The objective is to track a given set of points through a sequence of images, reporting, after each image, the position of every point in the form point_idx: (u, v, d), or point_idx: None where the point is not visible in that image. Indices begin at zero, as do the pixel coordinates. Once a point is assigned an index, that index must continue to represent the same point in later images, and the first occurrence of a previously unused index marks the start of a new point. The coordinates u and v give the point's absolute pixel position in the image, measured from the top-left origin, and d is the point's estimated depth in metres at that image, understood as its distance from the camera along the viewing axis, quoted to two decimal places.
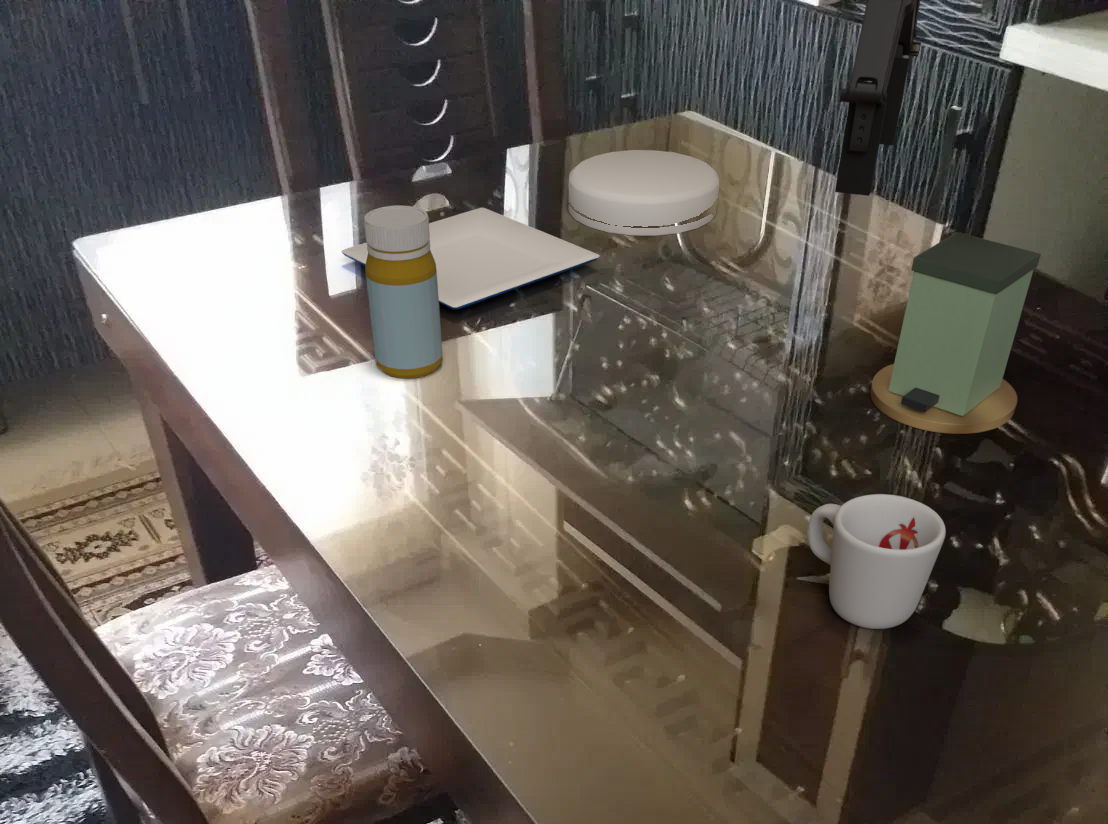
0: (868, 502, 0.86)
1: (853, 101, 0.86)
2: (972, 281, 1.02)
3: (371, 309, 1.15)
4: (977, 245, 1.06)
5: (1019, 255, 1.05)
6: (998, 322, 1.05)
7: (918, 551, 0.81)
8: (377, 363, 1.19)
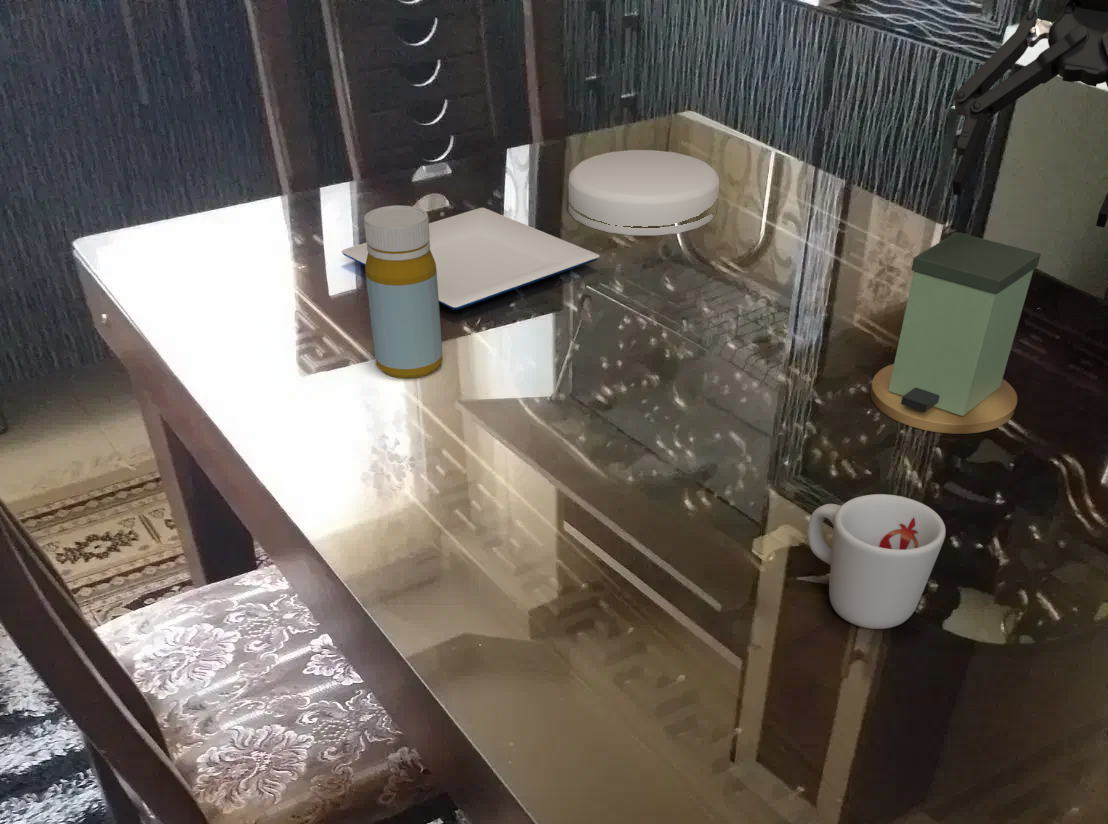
0: (868, 502, 0.86)
1: None
2: (972, 281, 1.02)
3: (371, 309, 1.15)
4: (977, 245, 1.06)
5: (1019, 255, 1.05)
6: (998, 322, 1.05)
7: (918, 552, 0.81)
8: (377, 363, 1.19)
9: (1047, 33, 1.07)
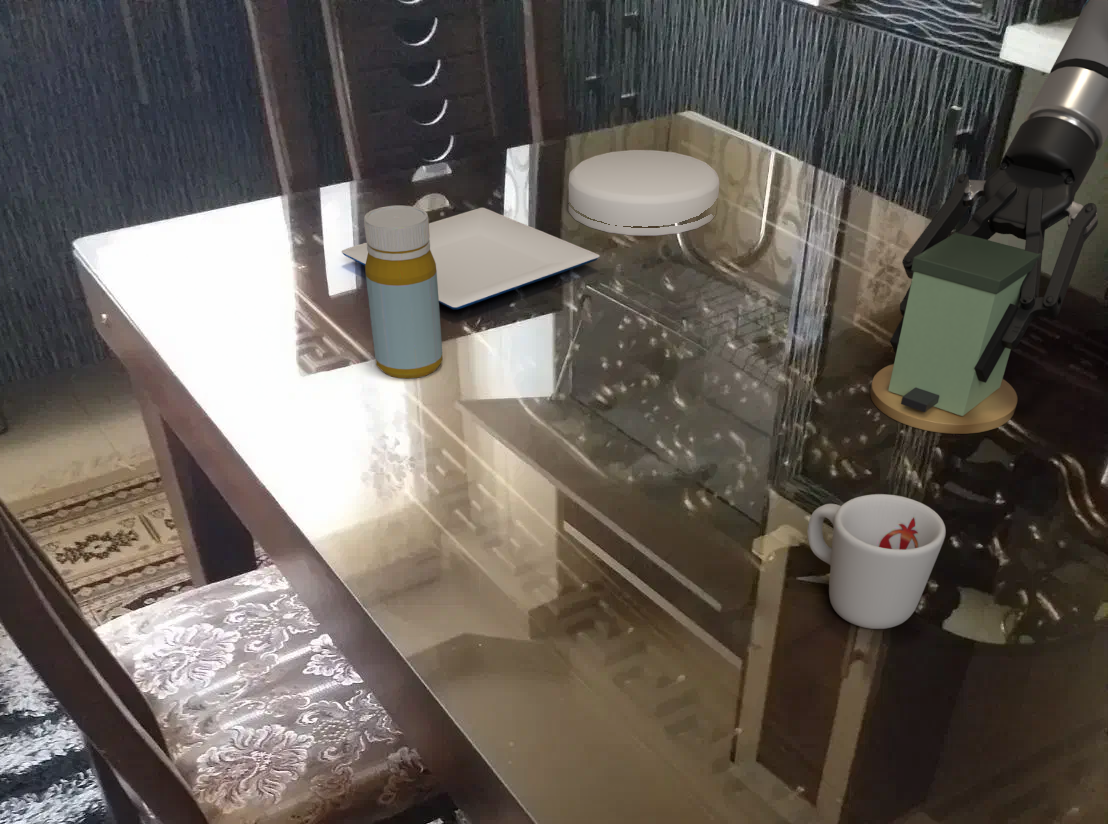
0: (868, 502, 0.86)
1: None
2: (972, 281, 1.02)
3: (371, 309, 1.15)
4: (977, 245, 1.06)
5: (1019, 255, 1.05)
6: (998, 322, 1.05)
7: (918, 551, 0.81)
8: (377, 363, 1.19)
9: (982, 187, 1.09)
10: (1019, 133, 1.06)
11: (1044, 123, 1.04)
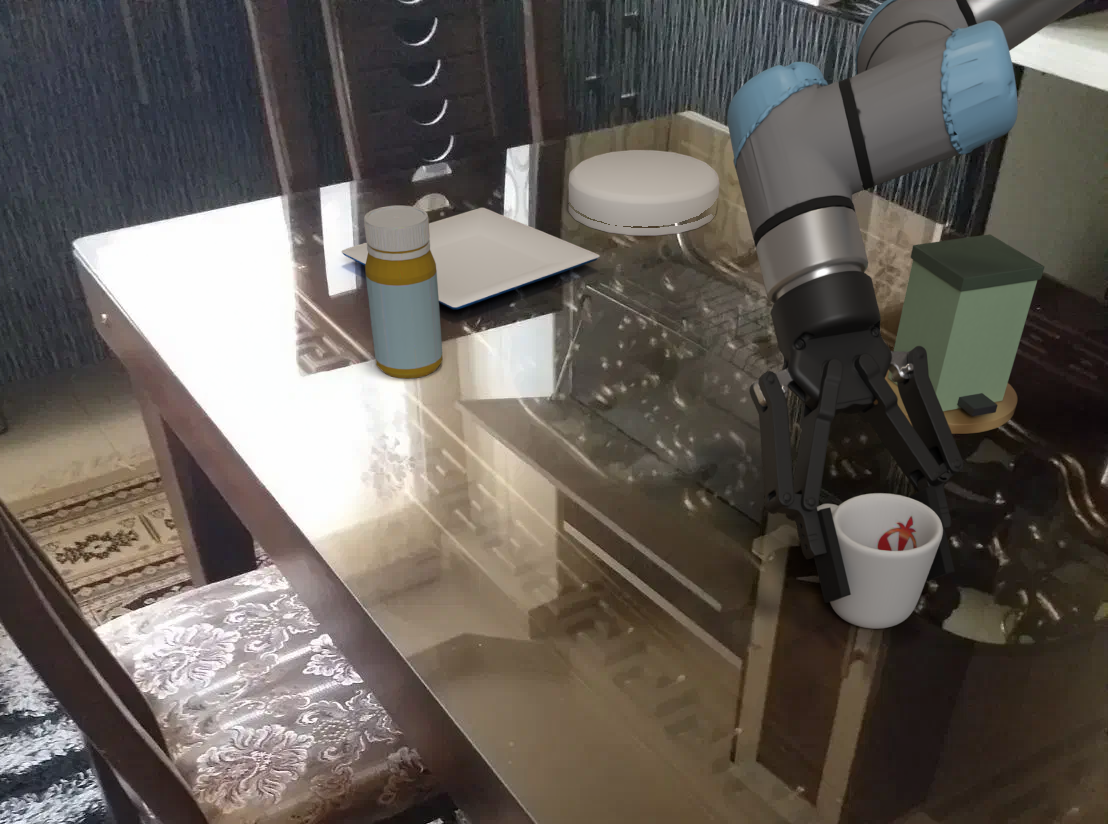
0: (865, 502, 0.86)
1: None
2: (1019, 277, 1.03)
3: (371, 309, 1.15)
4: (953, 248, 1.06)
5: (988, 241, 1.07)
6: None
7: (914, 552, 0.81)
8: (377, 363, 1.19)
9: (788, 377, 0.84)
10: (807, 303, 0.82)
11: (838, 282, 0.81)
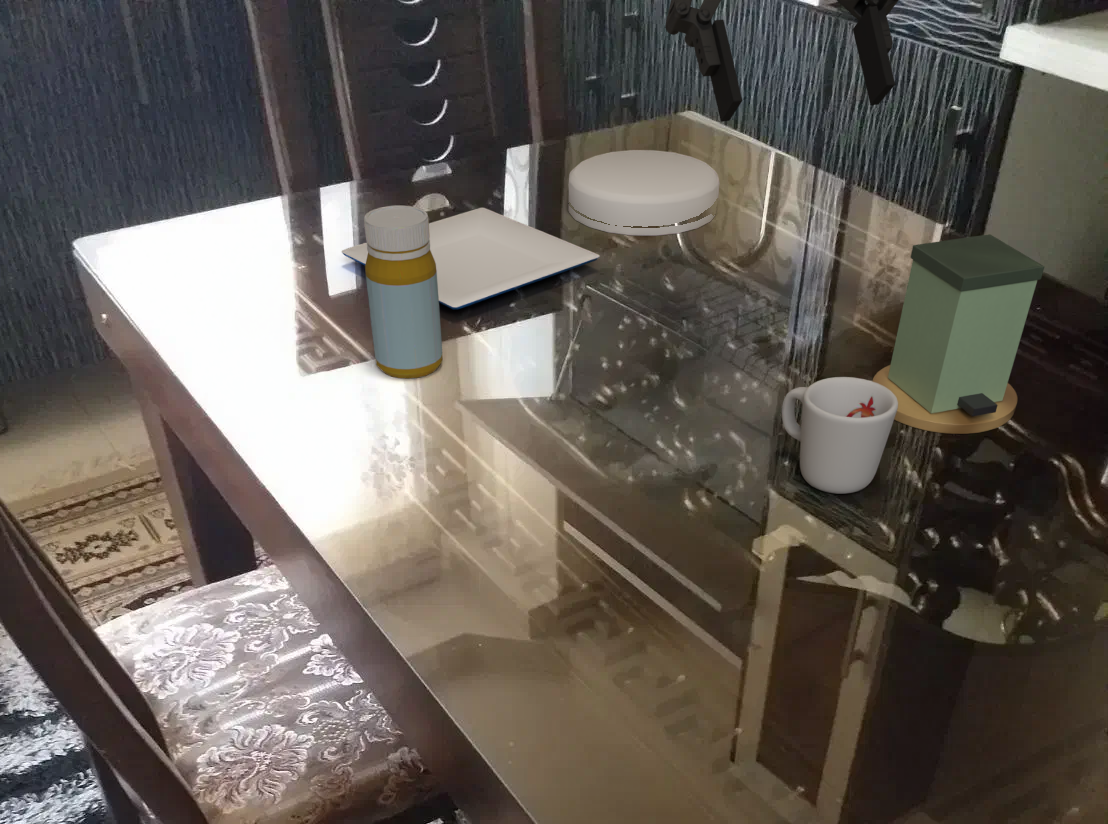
0: (833, 383, 1.00)
1: None
2: (1019, 277, 1.03)
3: (371, 309, 1.15)
4: (953, 248, 1.06)
5: (988, 241, 1.07)
6: None
7: (873, 419, 0.95)
8: (377, 363, 1.19)
9: None
10: None
11: None
